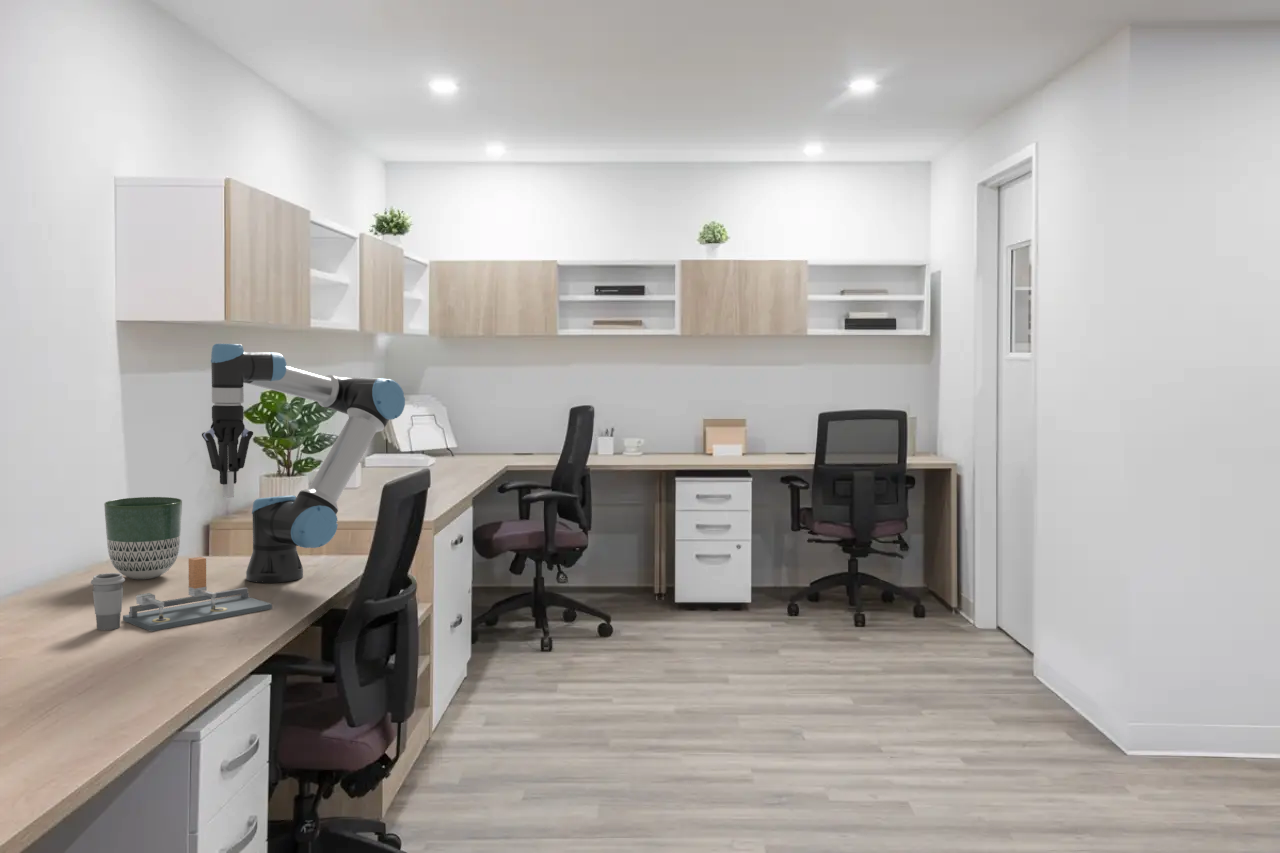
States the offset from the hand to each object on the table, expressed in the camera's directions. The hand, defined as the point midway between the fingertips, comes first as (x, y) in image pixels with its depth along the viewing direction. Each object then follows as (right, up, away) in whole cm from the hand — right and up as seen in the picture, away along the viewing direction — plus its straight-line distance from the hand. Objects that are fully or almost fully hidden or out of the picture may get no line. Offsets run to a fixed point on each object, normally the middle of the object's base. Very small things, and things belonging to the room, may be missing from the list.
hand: (228, 496), depth 266 cm
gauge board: (-1, -27, -15) cm, 31 cm away
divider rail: (-2, -26, -14) cm, 30 cm away
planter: (-33, -25, +25) cm, 48 cm away
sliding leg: (-1, -26, -13) cm, 29 cm away
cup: (-16, -28, -28) cm, 43 cm away
